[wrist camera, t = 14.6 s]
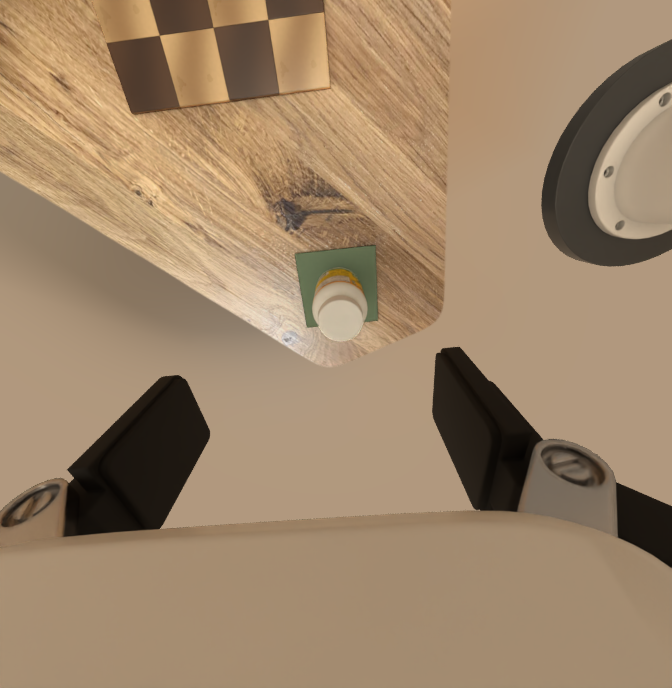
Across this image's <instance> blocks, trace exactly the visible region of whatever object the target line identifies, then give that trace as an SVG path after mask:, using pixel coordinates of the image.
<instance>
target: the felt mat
mask: <svg viewBox="0 0 672 688" xmlns="http://www.w3.org/2000/svg"><path fill="white" fill-rule="evenodd" d="M295 259H296V265H297V271H298V277H299V283H300V289H301V295H302V301H303V307H304V313H305V319H306V325H307V327H318V324H317V323H316V321H315V319H314V316H313V312H312V305H313V299H314V295H315V289H316V285H317V282H318V280H319V278H320V277H321V275H322V274H323V273H324V272H326V271H327V270H329V269H332V268H338V267H340V268H346V269H348V270H350V271H352V272H353V273H354V274H355V275H356V276H357V277H358V279H359V281H360V283H361V286H362V289H363V292H364V295H365V298H366V301H367V307H368V310H367V316H366V319H365V321H364V322H370V321H378V307H377V275H376V246H375V245H370V246H361V247H352V248H342V249H333V250H324V251H315V252H305V253H296V254H295Z"/></svg>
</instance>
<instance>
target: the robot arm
mask: <svg viewBox="0 0 672 688" xmlns="http://www.w3.org/2000/svg"><path fill="white" fill-rule="evenodd" d="M588 205H589V209H590V213H591V216H592V218H593V220H594V222H595V223H596V225H597V226H598V227H599V228H600V229H601V230H602V231H603V232H605V233H607V234H609V235H611V236H615V237H619V238H627V239H643V238H649V237H653V236H657V235H660V234H663V233H665V232H667V231H669V230H672V82H671V83H670V84H668V85H666V86H664V87H662V88H660V89H658V90H657V91H655V92H654V93H652V94H651V95H650V96H648V97H647V98H646V99H644V100H643V101H641V102H640V103H639V104H638V105H637V106H636V107H635V108H634V109H633V110H632V111H631V112H630V113H629V114H628V115H626V117H625V118H624V119H623V120H622V121H621V123H620V124H619V125H618V126H617V127H616V129H615V130H614V131H613V132H612V134H611V135H610V137H609V139H608V140H607V142H606V143H605V145H604V146H603V148H602V150H601V152H600V154H599V156H598V158H597V160H596V162H595V165H594V168H593V172H592V175H591V178H590V184H589V190H588ZM432 413H433V418H434V421H435V423H436V426H437V428H438V430H439V432H440V434H441V437H442V439H443V441H444V443H445V446H446V448H447V450H448V452H449V455H450V457H451V459H452V461H453V463H454V465H455V468H456V470H457V473H458V474H459V477H460V479H461V481H462V484H463V486H464V488H465V490H466V493H467V495H468V497H469V499H470V502H471V504H472V506H473V507H474V509H476V510H480V511H447V512H425V513H403V514H402V513H401V514H385V515H369V516H353V517H336V518H319V519H302V520H287V521H273V522H256V523H242V524H228V525H227V524H226V525H211V526H196V527H183V528H169V529H160V528H161V526H162V525H163V523H164V521H165V520H166V518H167V516H168V514H169V512H170V510H171V509H172V506H173V505H174V503H175V501H176V499H177V498H178V496H179V494H180V492H181V490H182V488H183V486H184V484H185V483H186V481H187V479H188V477H189V475H190V474H191V472H192V470H193V468H194V466H195V464H196V462H197V461H198V458H199V457H200V455H201V453H202V451H203V450H204V448H205V446H206V444H207V442H208V440H209V438H210V430H209V428H208V426H207V424H206V421H205V419H204V417H203V415H202V413H201V411H200V408H199V406H198V404H197V402H196V400H195V398H194V395H193V393H192V391H191V389H190V387H189V385H188V383H187V381H186V380H185V379H183V378H182V377H181V376H179V375H174V376H165V377H161V378H160V379H159V380H158V381H157V382H156V383H154V385H153V386H151V387H150V389H148V390H147V391H146V392H145V393H144V394H143V395H142V396H141V397H140V398H139V400H137V401H136V402H135V403H134V404H133V405H132V406H131V407H130V408H129V409H128V410H127V411H126V412H125V413H124V414H123V415H122V416H121V417H120V418H119V419H118V420H117V421H116V422H115V423H114V424H113V425H112V426H111V427H110V428H109V429H108V430H107V431H106V432H105V433H104V434H103V435H102V436H101V437H100V438H99V439H98V440H97V441H96V442H95V443H94V444H93V445H92V446H91V447H90V448H89V449H88V450H87V451H86V452H85V453H84V454H83V455H82V456H81V457H79V458H78V459H77V461H75V462H74V463H73V464H72V466H70V467H69V468H68V469H67V470H68V471H69V472H70V474H71V475H72V476H73V477H74V479H73V480H72V481H71V482H70V483H68V482H67V481H66V480H64V479H62V478H55V479H51V480H47V481H44V482H42V483H39V484H37V485H35V486H33V487H31V488H30V489H28V490H26V491H24V492H23V493H21V494H20V495H19V496H17V497H16V498H14V499H13V500H12V501H11V502H9V503H8V504H7V505H6V506H5V507H4V508H3V509H2V510H1V511H0V688H672V506H670V505H668V504H665V503H663V502H660V501H658V500H656V499H654V498H651V497H649V496H647V495H644V494H642V493H640V492H638V491H635V490H633V489H631V488H628V487H626V486H624V485H621V484H619V483H617V482H616V480H615V476H614V473H613V471H612V470H611V468H610V467H609V466H608V464H607V463H606V462H605V461H604V460H603V459H601V458H600V457H599V456H598V455H597V454H595V453H593V452H592V451H590V450H588V449H587V448H585V447H583V446H580V445H578V444H575V443H573V442H569V441H565V440H559V439H558V440H557V439H548V440H543V439H542V438H541V436H540V435H539V434H538V433H537V432H536V431H535V430H534V428H533V427H532V426H531V425H530V424H529V423H528V422H527V420H526V419H525V418H524V417H523V416H522V415H521V414H520V412H519V411H518V410H517V409H516V408H515V407H514V406H513V405H512V403H511V402H510V401H509V400H508V399H507V397H506V396H505V395H504V394H503V393H502V392H501V391H500V389H499V388H498V387H497V386H496V385H495V384H494V383H493V382H491V381H488V380H487V378H486V377H485V376H484V375H483V374H482V373H481V371H480V370H479V369H478V368H477V367H476V365H475V364H474V363H473V362H472V361H471V360H470V358H469V357H468V356H467V355H466V354H465V353H464V351H463V350H462V349H461V348H460V347H453V348H443V349H442V350H441V353H437V354H436V360H435V376H434V393H433V408H432Z"/></svg>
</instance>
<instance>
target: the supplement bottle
mask: <svg viewBox="0 0 672 688" xmlns="http://www.w3.org/2000/svg"><path fill="white" fill-rule="evenodd" d="M367 310H368V307H367V301H366V298H365V295H364V292H363V289H362V286H361V283H360V281H359V279H358V277H357V276H356V275H355V274H354V273H353V272H352V271H350V270H348V269H346V268H340V267H338V268H332V269H329V270H327V271H326V272H324V273H323V274H322V275H321V277H320V278H319V280H318V282H317V285H316V289H315V295H314V299H313V305H312V312H313V316H314V319H315V321H316V323H317V324H318V326H319V329H320V330H321V332H322V333H323V335H324V336H326V337H327V338H328V339H330V340H333V341H337V342H344V341H348V340H351V339H353V338H354V337H356V336H357V335H358V334H359V332H360V331H361V329H362V327H363V323H364V321H365V319H366V316H367Z"/></svg>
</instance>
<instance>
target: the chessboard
mask: <svg viewBox="0 0 672 688" xmlns="http://www.w3.org/2000/svg"><path fill="white" fill-rule="evenodd" d="M91 1H92V3H93V6H94V9H95V12H96V15H97V17H98V20H99V23H100V26H101V29H102V32H103V34H104V37H105V40H106V43H107V46H108V48H109V51H110V54H111V57H112V60H113V63H114V65H115V68H116V71H117V74H118V77H119V79H120V82H121V85H122V88H123V91H124V94H125V96H126V99H127V102H128V105H129V108H130V110H131V113H132V114H141V113H148V112H156V111H163V110H171V109H178V108H186V107H193V106H201V105H208V104H216V103H224V102H230V101H239V100H246V99H254V98H261V97H269V96H276V95H284V94H291V93H299V92H307V91H314V90H322V89H329V88H330V77H329V65H328V53H327V41H326V29H325V17H324V5H323V0H91Z"/></svg>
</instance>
